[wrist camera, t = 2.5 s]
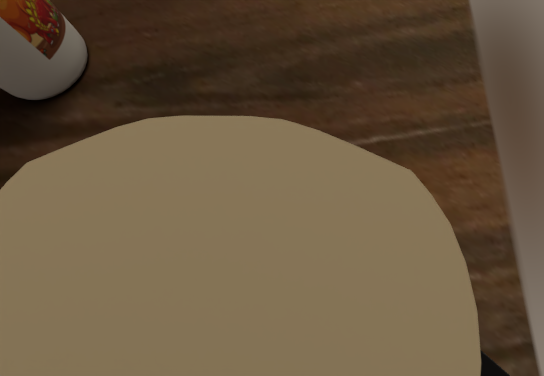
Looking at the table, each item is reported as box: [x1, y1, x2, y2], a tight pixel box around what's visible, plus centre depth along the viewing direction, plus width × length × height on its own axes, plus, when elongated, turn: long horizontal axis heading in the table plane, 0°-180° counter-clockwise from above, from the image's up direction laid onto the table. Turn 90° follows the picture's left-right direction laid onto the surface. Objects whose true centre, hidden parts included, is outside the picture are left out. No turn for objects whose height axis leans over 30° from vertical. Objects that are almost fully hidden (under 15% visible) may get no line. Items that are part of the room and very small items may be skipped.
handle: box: [0, 116, 481, 376], centre depth 10 cm, size 5×6×15 cm
